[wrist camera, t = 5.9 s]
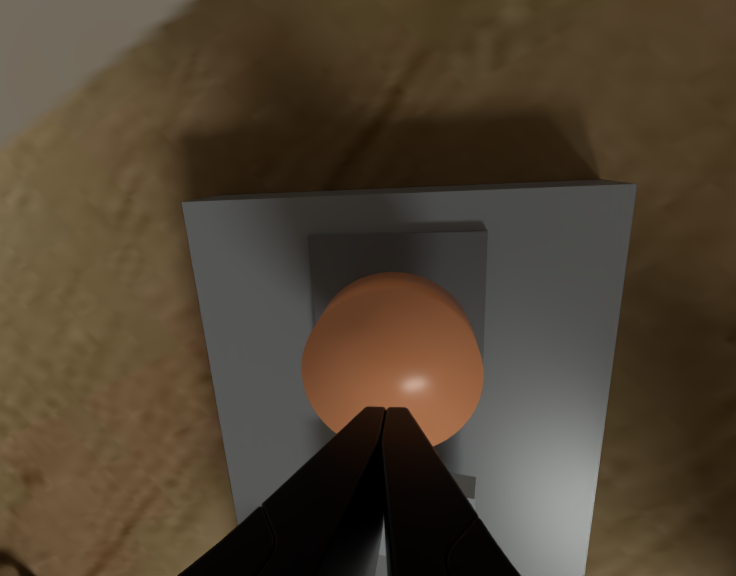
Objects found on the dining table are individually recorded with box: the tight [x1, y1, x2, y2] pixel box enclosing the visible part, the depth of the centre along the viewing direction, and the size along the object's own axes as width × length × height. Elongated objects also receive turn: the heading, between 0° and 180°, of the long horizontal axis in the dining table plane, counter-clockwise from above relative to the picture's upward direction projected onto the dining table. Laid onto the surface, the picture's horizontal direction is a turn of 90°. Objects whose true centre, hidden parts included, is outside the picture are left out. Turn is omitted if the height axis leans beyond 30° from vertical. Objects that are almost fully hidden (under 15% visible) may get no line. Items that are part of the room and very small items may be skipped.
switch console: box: [182, 179, 637, 576], centre depth 17 cm, size 14×22×3 cm, turn 3°
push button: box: [301, 272, 484, 446], centre depth 11 cm, size 4×4×3 cm
